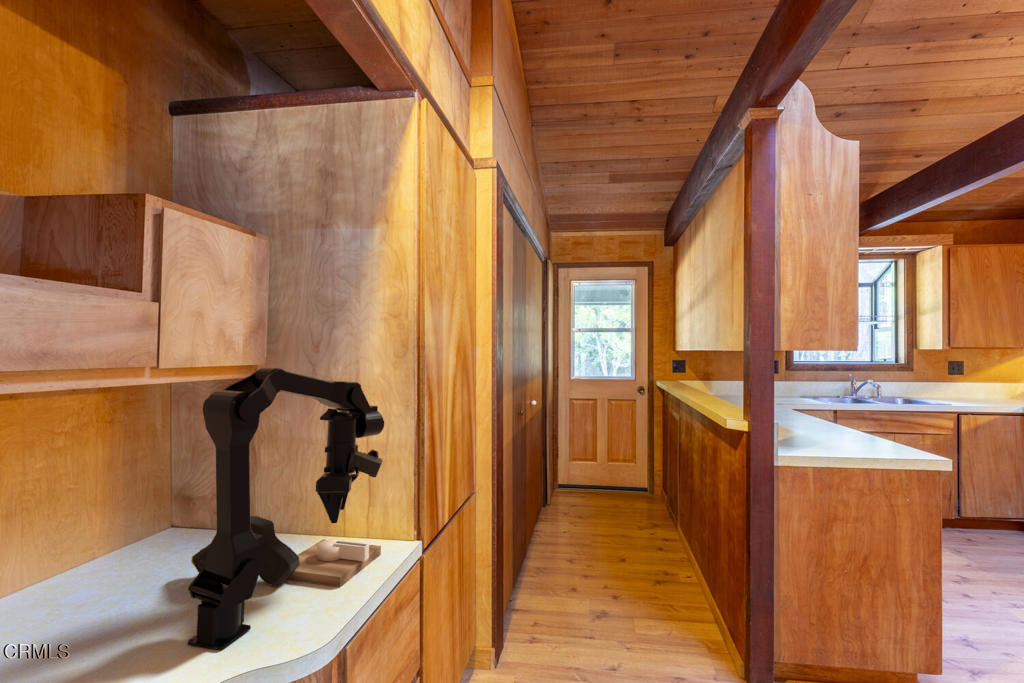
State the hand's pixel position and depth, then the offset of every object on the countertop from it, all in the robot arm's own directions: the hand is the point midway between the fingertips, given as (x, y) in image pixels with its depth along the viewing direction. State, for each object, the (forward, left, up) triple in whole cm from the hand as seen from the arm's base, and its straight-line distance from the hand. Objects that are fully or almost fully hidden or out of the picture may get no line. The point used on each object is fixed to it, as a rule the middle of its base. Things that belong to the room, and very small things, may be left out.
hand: (338, 516), depth 103 cm
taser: (-7, +16, -13) cm, 22 cm away
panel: (+4, +4, -12) cm, 14 cm away
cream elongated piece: (+4, +1, -10) cm, 11 cm away
